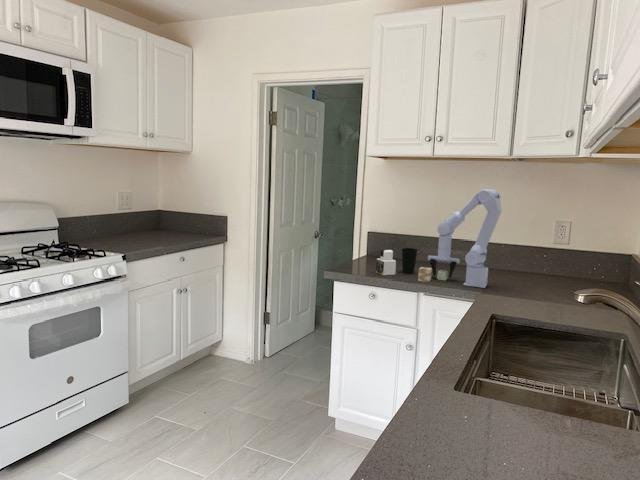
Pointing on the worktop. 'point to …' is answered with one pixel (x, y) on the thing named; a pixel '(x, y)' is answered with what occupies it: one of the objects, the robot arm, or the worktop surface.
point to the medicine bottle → (386, 263)
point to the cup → (408, 260)
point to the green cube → (442, 275)
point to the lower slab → (424, 278)
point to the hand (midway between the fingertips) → (442, 276)
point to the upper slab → (425, 271)
